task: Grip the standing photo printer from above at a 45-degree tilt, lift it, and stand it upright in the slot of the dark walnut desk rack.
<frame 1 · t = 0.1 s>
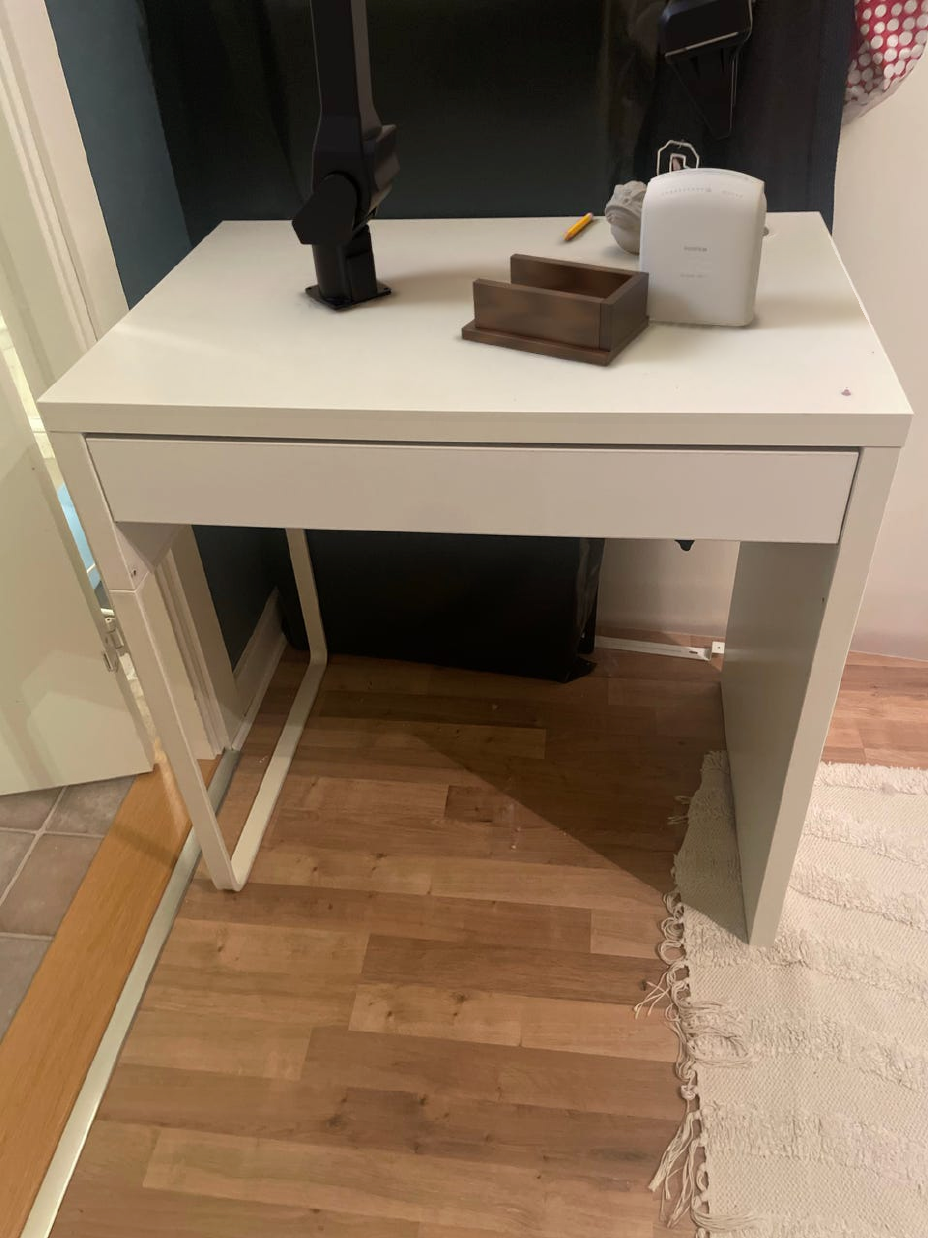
hand: (725, 121, 76), 15 cm above the table, tool pointing down, fingers open, 9 cm apart
pencil: (576, 232, 104), on the table
frog figurine: (633, 253, 99), on the table
rack: (555, 332, 84), on the table
photo printer: (692, 319, 85), on the table
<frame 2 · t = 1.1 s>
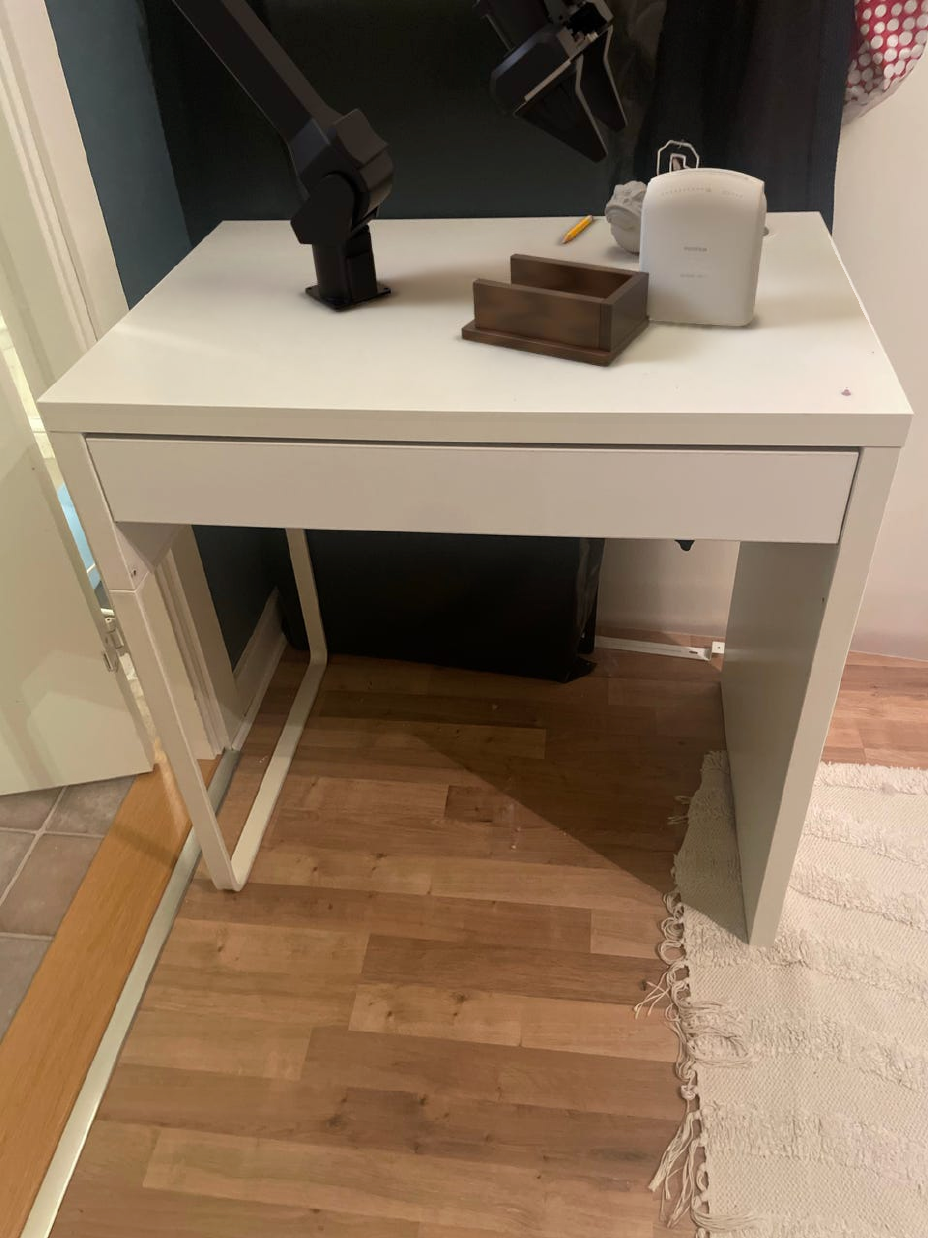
hand: (613, 143, 78), 14 cm above the table, tool tilted 35°, fingers open, 9 cm apart
nothing on the table moved.
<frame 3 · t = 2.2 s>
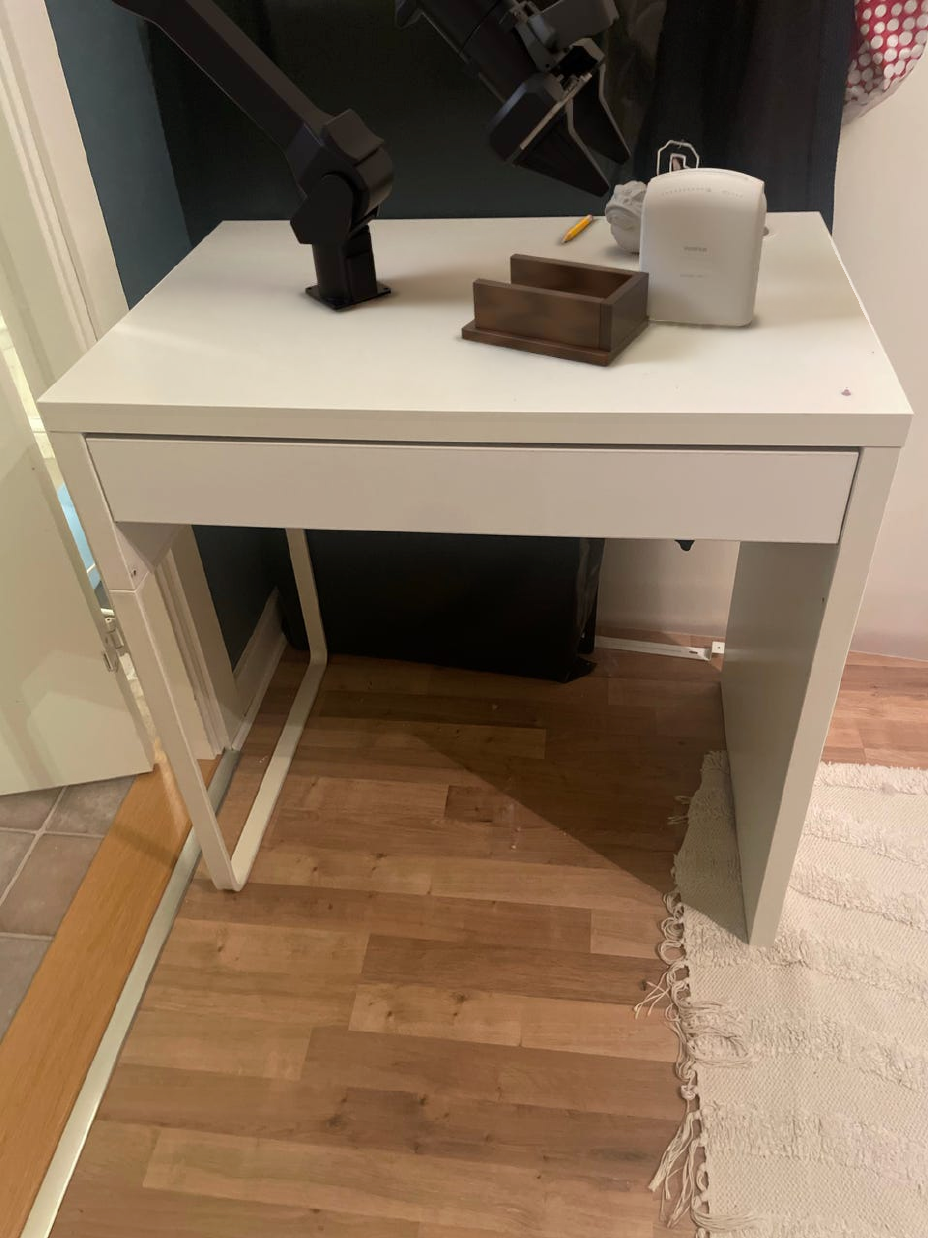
hand: (617, 176, 79), 12 cm above the table, tool tilted 45°, fingers open, 9 cm apart
nothing on the table moved.
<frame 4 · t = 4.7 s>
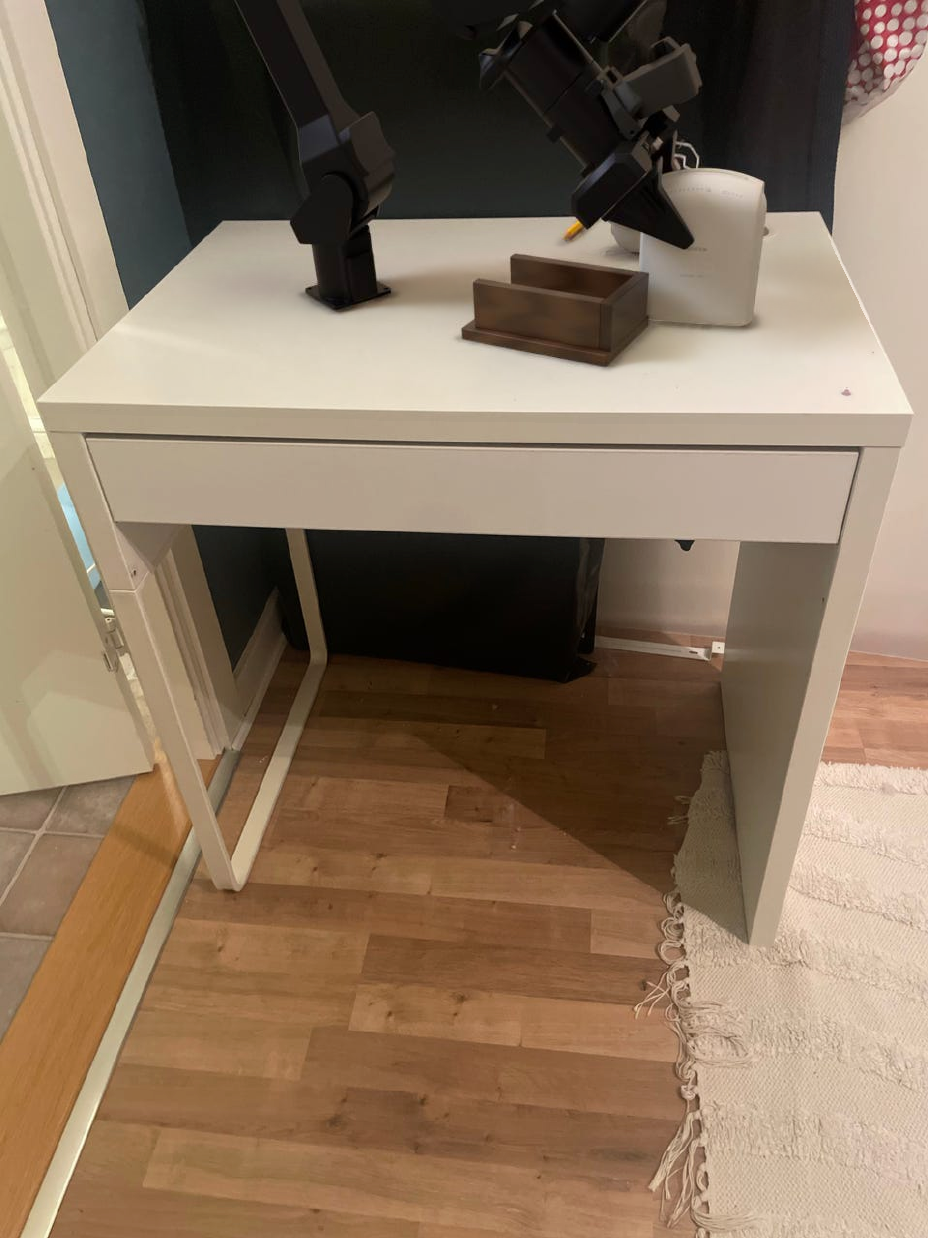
hand: (693, 236, 81), 7 cm above the table, tool tilted 45°, fingers closed on photo printer, 4 cm apart
photo printer: (692, 319, 85), on the table, touching gripper
everything else where it was.
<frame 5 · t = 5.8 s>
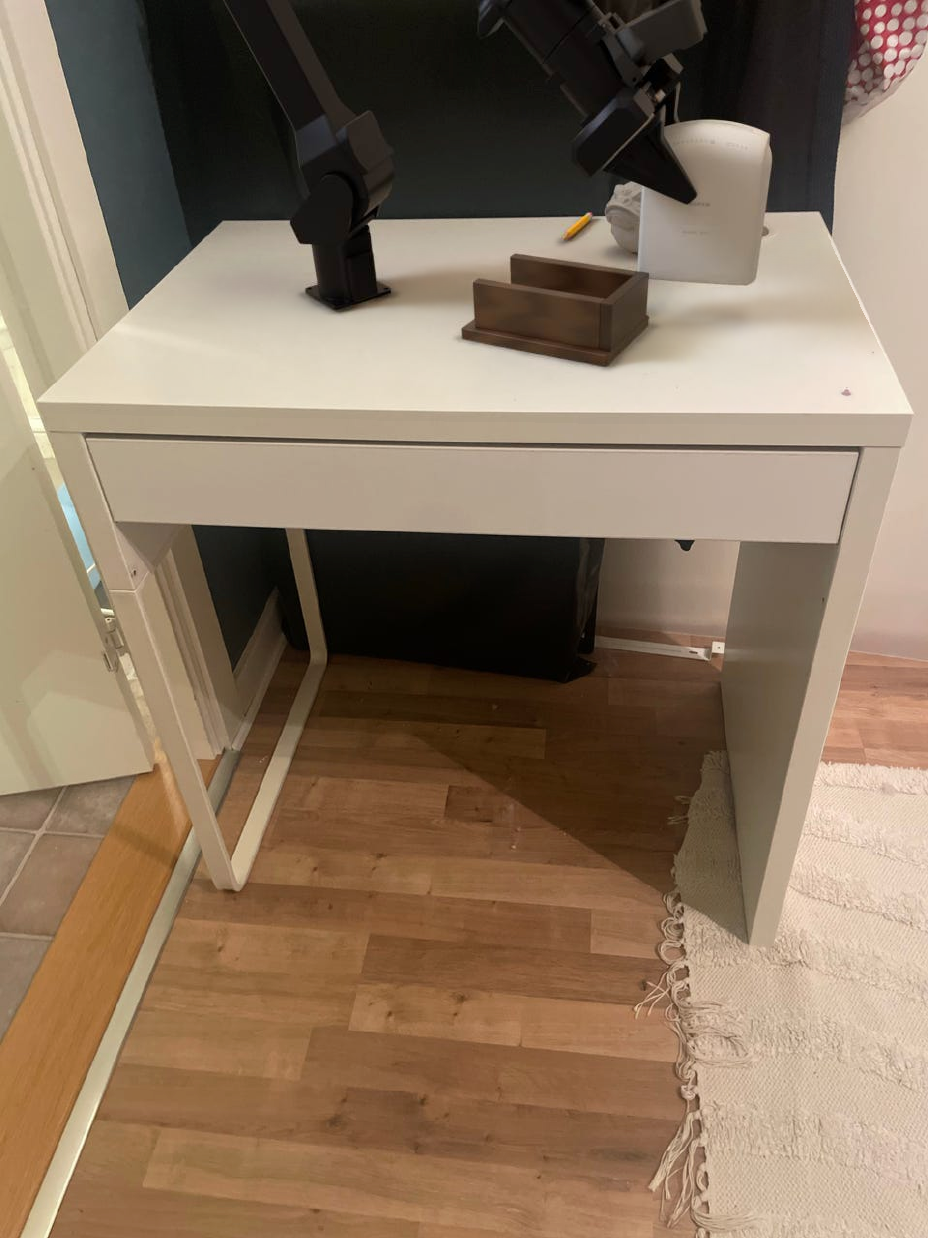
hand: (696, 191, 78), 11 cm above the table, tool tilted 45°, fingers closed on photo printer, 4 cm apart
photo printer: (694, 279, 83), point 3 cm above the table, touching gripper
everything else where it was.
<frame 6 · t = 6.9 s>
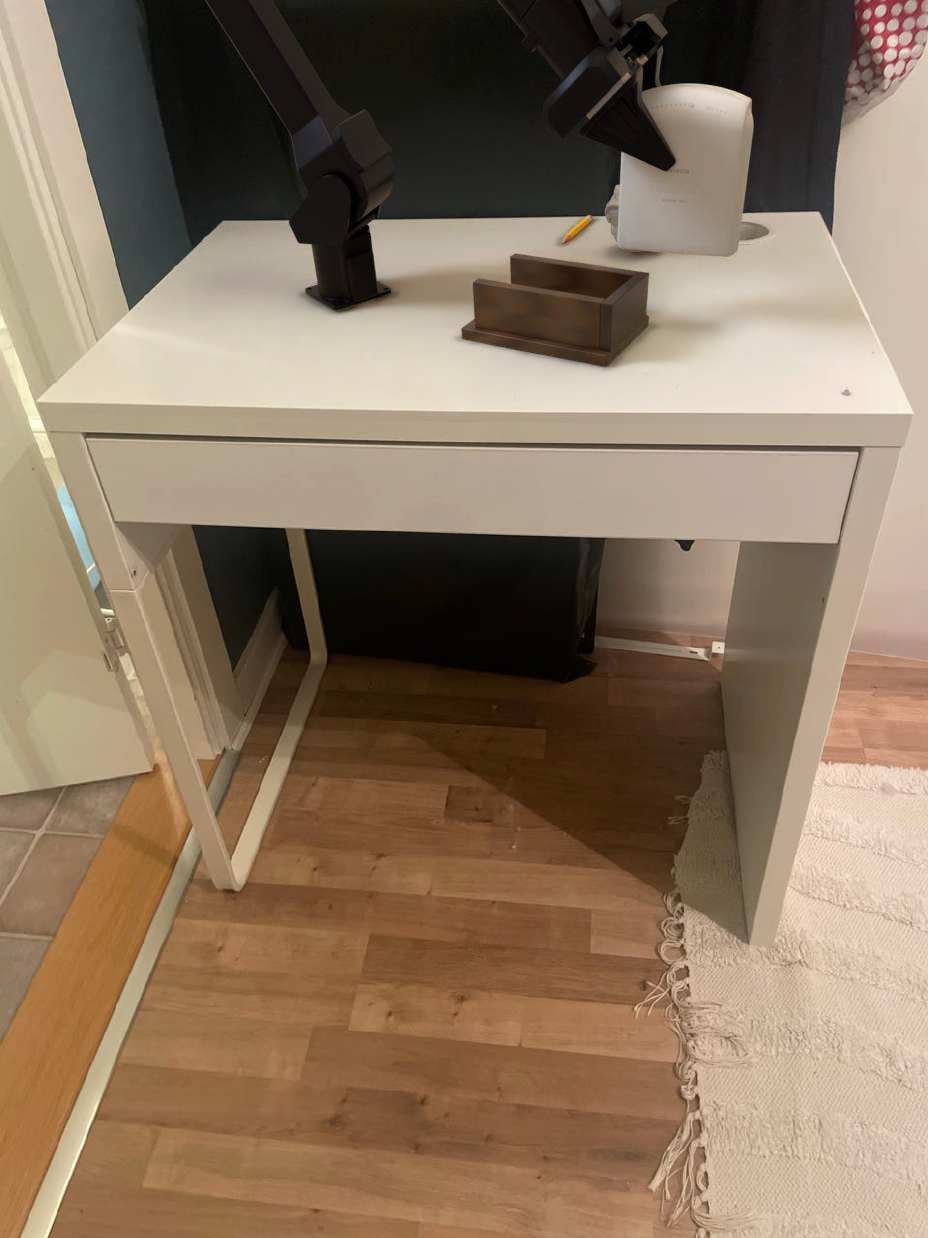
hand: (676, 158, 76), 13 cm above the table, tool tilted 45°, fingers closed on photo printer, 4 cm apart
photo printer: (675, 251, 81), point 6 cm above the table, touching gripper
everything else where it was.
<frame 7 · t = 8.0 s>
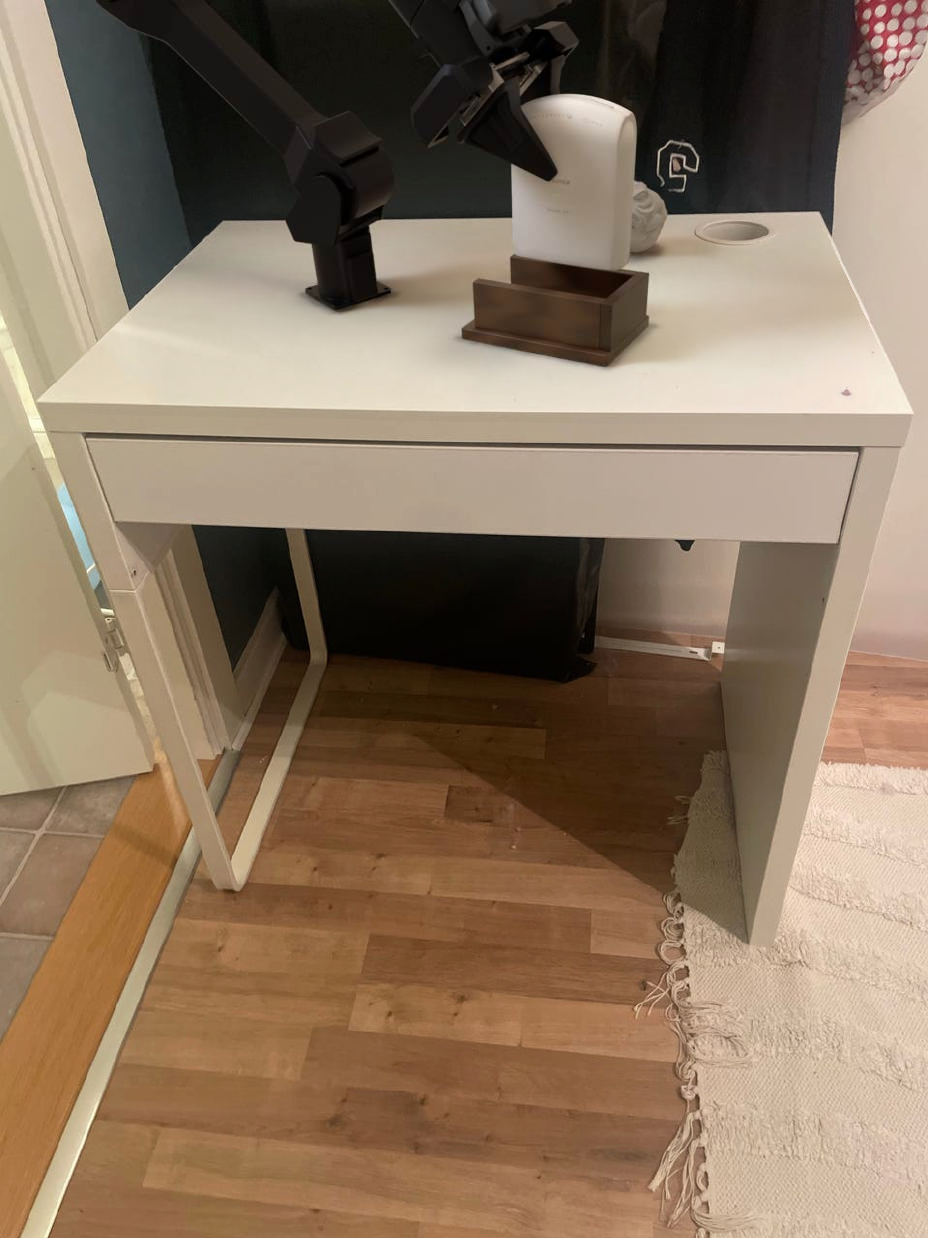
hand: (565, 169, 76), 13 cm above the table, tool tilted 45°, fingers closed on photo printer, 4 cm apart
photo printer: (569, 261, 80), point 6 cm above the table, touching gripper
everything else where it was.
when the fingers open (8 cm above the table, at t = 10.3 s): photo printer stays where it is, resting on rack.
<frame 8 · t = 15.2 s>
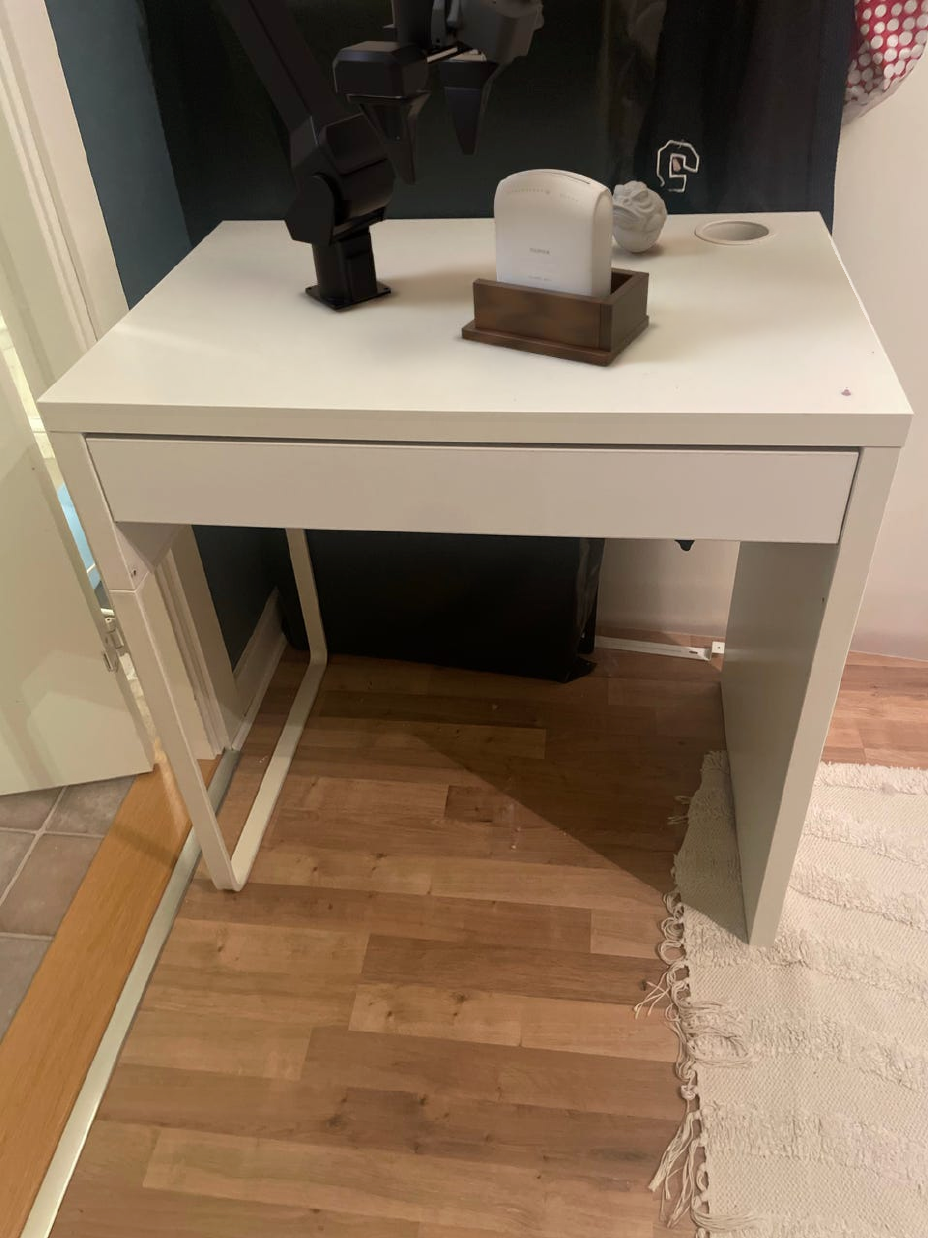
hand: (440, 168, 80), 13 cm above the table, tool pointing down, fingers open, 9 cm apart
photo printer: (553, 323, 84), point 1 cm above the table, touching rack
everything else where it was.
at the end: photo printer 0.1 cm off-centre on the rack, point 0.8 cm above the rack's base; photo printer tilted 0°; the gripper is holding nothing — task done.
